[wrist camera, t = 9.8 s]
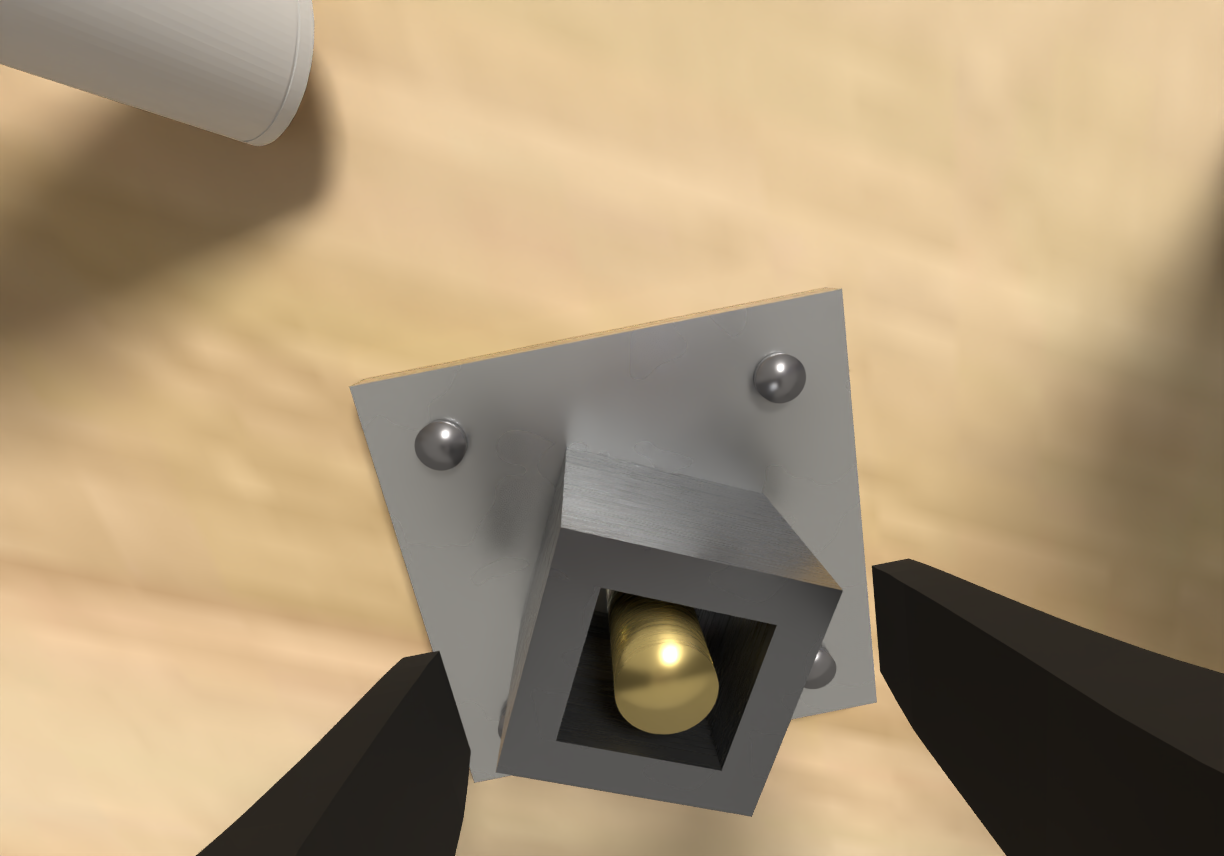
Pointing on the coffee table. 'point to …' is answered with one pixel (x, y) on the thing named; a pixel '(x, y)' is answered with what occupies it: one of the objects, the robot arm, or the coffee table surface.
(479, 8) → the coffee table surface
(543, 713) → the hollow square tube
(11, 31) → the wall hook
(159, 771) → the coffee table surface
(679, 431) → the anchor plate
